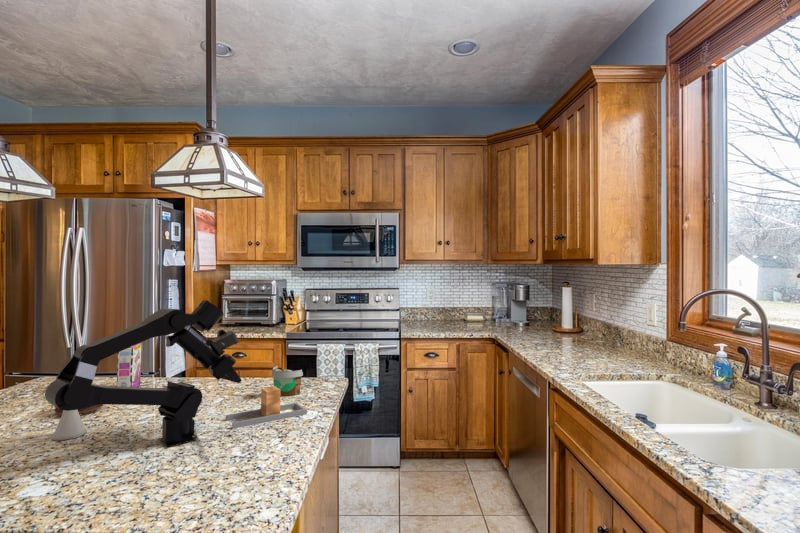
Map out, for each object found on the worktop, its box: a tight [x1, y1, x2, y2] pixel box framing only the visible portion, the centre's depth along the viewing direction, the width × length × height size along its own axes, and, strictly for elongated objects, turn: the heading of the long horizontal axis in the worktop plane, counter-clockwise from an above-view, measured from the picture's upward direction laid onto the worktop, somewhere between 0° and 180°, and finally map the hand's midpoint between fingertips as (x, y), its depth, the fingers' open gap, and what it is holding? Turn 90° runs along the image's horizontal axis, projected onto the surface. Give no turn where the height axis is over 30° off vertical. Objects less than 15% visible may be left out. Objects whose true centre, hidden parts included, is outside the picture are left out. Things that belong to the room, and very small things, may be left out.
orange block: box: [260, 385, 281, 417], centre depth 121 cm, size 4×5×8 cm
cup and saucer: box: [54, 404, 105, 416], centre depth 128 cm, size 12×12×6 cm
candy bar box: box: [116, 342, 143, 387], centre depth 152 cm, size 11×5×16 cm, turn 17°
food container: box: [270, 365, 304, 397], centre depth 144 cm, size 12×6×10 cm, turn 62°
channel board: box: [225, 402, 308, 430], centre depth 121 cm, size 21×9×3 cm, turn 125°
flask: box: [51, 410, 87, 441], centre depth 109 cm, size 7×7×10 cm
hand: (239, 380), depth 116 cm, fingers open, 3 cm apart
